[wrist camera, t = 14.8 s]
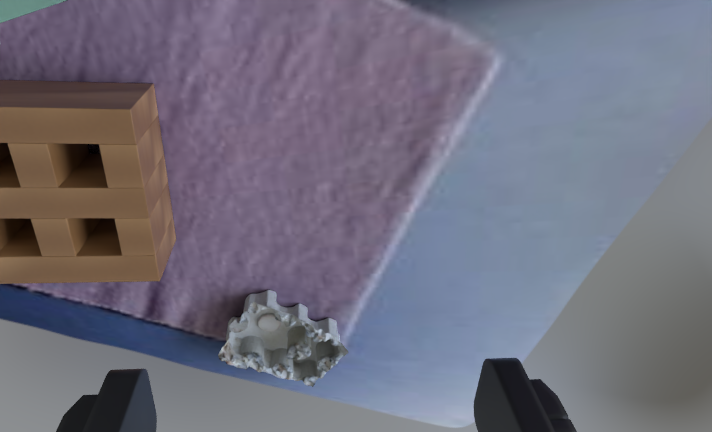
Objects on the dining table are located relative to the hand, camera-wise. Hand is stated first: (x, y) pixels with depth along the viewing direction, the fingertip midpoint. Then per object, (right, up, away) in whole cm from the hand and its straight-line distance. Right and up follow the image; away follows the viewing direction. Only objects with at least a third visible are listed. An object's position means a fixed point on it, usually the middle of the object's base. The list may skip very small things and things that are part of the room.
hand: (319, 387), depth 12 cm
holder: (-21, +8, +28) cm, 36 cm away
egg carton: (-6, -7, +38) cm, 39 cm away
